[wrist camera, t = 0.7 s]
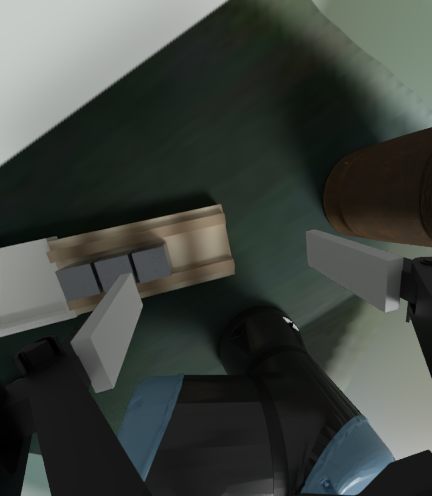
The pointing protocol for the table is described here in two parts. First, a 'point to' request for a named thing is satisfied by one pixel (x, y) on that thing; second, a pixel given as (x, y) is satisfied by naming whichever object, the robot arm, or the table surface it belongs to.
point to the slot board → (152, 232)
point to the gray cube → (152, 262)
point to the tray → (30, 288)
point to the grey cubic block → (79, 279)
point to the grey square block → (115, 268)
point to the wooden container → (384, 191)
